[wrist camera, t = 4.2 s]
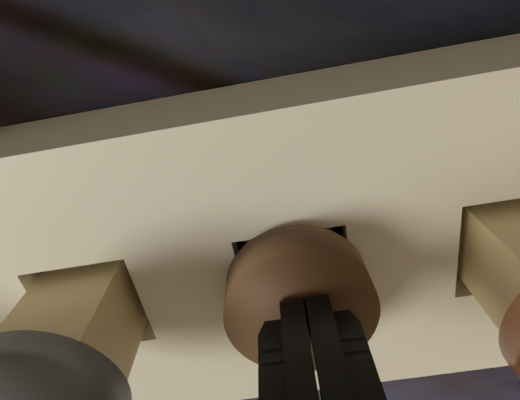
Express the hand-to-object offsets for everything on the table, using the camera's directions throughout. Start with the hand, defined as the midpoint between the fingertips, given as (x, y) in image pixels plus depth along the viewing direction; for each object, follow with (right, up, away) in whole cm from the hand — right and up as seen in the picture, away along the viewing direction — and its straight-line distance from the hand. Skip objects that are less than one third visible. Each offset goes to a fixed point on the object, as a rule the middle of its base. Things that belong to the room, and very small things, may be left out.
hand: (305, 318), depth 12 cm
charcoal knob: (-8, 0, +4) cm, 8 cm away
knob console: (0, +3, +6) cm, 7 cm away
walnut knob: (0, +3, +6) cm, 6 cm away
